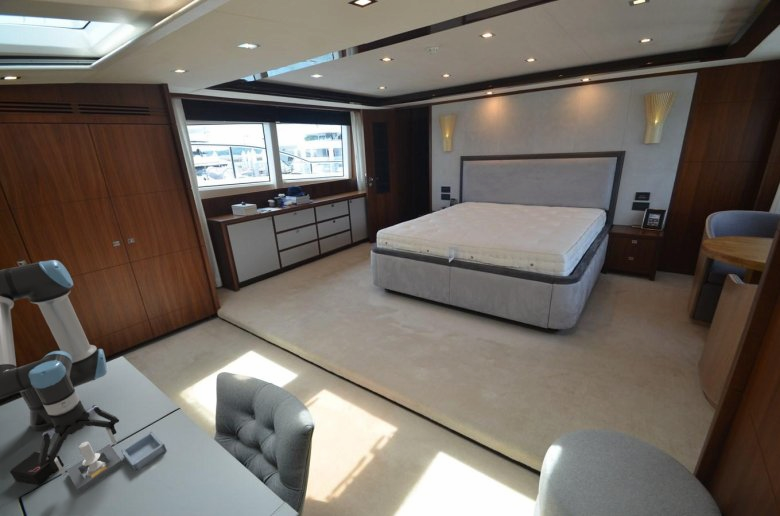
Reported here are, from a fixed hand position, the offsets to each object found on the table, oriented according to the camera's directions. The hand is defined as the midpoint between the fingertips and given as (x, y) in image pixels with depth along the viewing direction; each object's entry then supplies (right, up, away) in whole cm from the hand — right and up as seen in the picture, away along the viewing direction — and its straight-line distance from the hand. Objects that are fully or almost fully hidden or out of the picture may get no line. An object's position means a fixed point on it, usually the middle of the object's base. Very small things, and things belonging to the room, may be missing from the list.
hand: (90, 457), depth 113 cm
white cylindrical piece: (0, -6, +2) cm, 6 cm away
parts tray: (+14, -3, +7) cm, 15 cm away
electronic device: (-19, -7, +2) cm, 20 cm away
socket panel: (0, -5, +2) cm, 6 cm away
